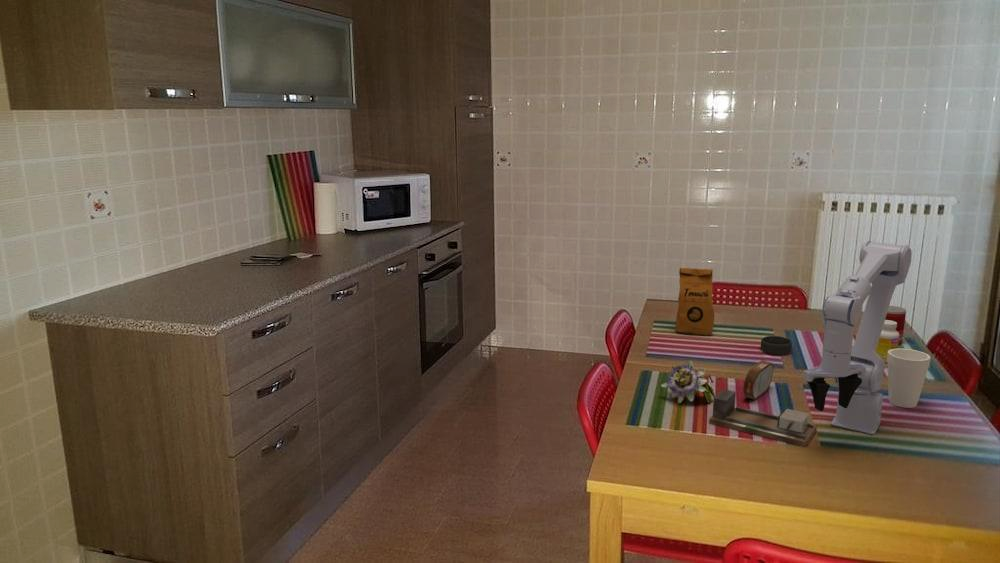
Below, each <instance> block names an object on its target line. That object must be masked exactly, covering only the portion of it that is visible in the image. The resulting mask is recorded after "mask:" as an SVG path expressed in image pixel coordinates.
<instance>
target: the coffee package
mask: <svg viewBox="0 0 1000 563" xmlns="http://www.w3.org/2000/svg"><path fill="white" fill-rule="evenodd" d="M678 272H679V273H678V275H679V292H678V298H677V299H678V300H677V302H678V308H677V314H676V319H675V331H676V332H678V333H683V334H690V333H692V334H693V335H697V334H698V336H699V335H700V336H709V335H710V336H711V333H712V332H713V330H714V326H715V310H714V307H713V276H714V275H713V269H712V268H708V269H707V268H690V267H688V268H687V267H680V268H679V271H678Z"/></svg>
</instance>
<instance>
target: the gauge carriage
mask: <svg viewBox="0 0 1000 563" xmlns="http://www.w3.org/2000/svg"><path fill="white" fill-rule="evenodd" d="M777 416H778V424H777V427H779V429H781V430H785V431H790V432H794V433H798V434H803V433H804V431H805V430H806V429H807V427H808V423H809V419H810V413H807V412H804V411H799V410H795V409H790V408H786V409H785V410H783V411H782V412H781V413H780V414H778V415H777Z"/></svg>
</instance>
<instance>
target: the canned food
mask: <svg viewBox="0 0 1000 563" xmlns="http://www.w3.org/2000/svg"><path fill="white" fill-rule="evenodd" d="M906 316H907V310H906V308H903V307H901V306H896V305H889V308H888V311H887V315H886V318H885V320H891V321H895V322H897V327H896V328H895V330H896V331H897V332H898V333H899V342H898V346H899V345H901V344H902V343H903V338H904V330H905V323H906Z"/></svg>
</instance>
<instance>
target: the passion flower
mask: <svg viewBox="0 0 1000 563" xmlns="http://www.w3.org/2000/svg"><path fill="white" fill-rule="evenodd" d="M671 367H672V370H671V371H670V372H669V373H668V374H669V376H670V377H667V380H666V381H665V382H662V383H661V384H660V387H662V388H663V389H666V388H669V390H671V393H670V398H671V399H677V404H682V403H683V401H684V399H685V397H686V398H687V400H688V401H689V402H693V401H694V400H695V396H696V395H695V394H696V393H697V392H700V393H702V394H703V396H704V398H705V400H706V403H708V404H711V403H712V402H713V398H714V397H716V394H715V392H714V388H712V386H710V384H708V380H707V379H706V377H708V378H709V380H710V382H711V384H713V383H714V380H713V379H714V378H712V376H711V374H707V375H705V374H706V372H707V370H706V369H705V368H704V369H698V370H695V368H694V362H693V361H692V360H688V362H687V363H686V364H682V365H678V364H676V365H675V366H674V365H672V366H671Z"/></svg>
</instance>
